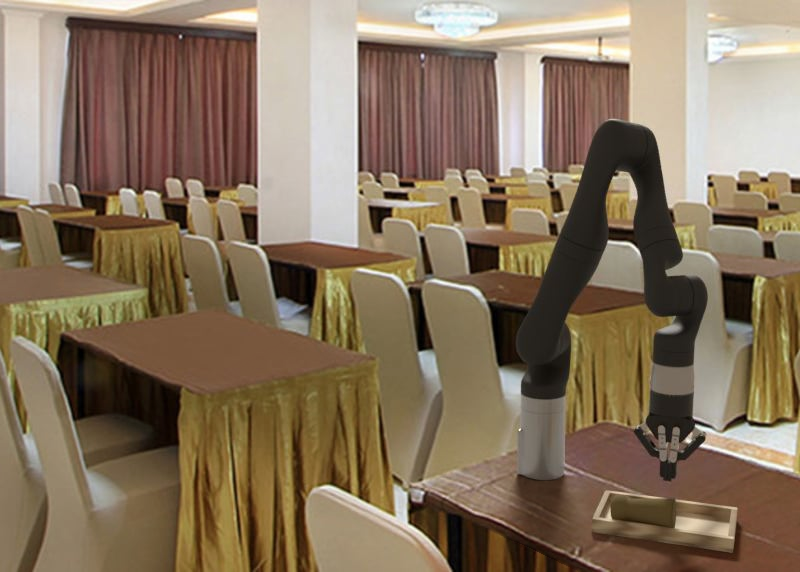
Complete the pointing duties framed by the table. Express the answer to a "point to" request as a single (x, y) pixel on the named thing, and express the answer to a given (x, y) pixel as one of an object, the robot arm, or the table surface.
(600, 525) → the birch tray
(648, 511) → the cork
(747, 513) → the table surface
